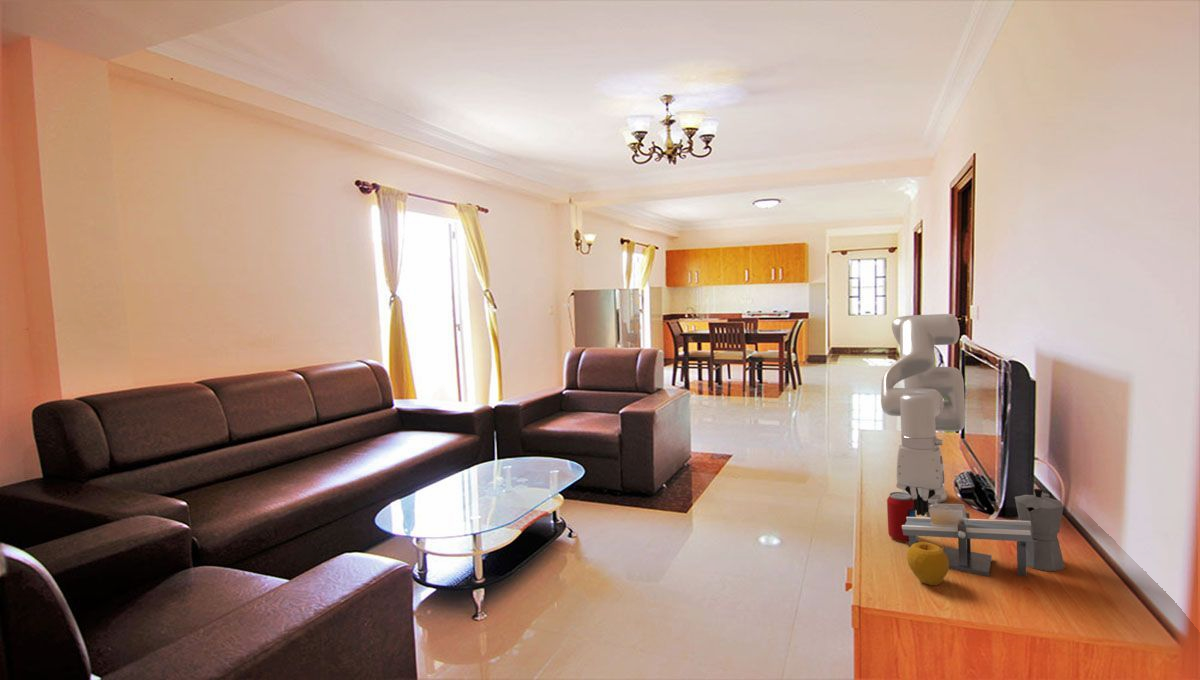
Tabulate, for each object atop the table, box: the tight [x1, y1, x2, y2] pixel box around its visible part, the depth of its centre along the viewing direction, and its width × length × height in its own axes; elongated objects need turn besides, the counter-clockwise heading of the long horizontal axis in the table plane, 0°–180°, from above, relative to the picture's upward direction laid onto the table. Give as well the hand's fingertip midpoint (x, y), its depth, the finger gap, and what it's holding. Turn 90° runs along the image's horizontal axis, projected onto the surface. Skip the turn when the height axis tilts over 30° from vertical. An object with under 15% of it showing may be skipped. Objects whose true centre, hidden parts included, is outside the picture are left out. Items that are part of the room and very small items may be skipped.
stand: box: [908, 512, 1027, 578], centre depth 133 cm, size 11×24×11 cm, turn 51°
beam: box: [902, 516, 1033, 542], centre depth 133 cm, size 7×26×2 cm, turn 51°
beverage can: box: [886, 491, 917, 543], centre depth 149 cm, size 7×7×12 cm
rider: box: [929, 503, 968, 528], centre depth 135 cm, size 4×7×5 cm, turn 51°
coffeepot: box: [1014, 488, 1066, 572], centre depth 131 cm, size 15×9×18 cm, turn 127°
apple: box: [906, 541, 950, 586], centre depth 126 cm, size 8×8×9 cm
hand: (921, 513), depth 138 cm, fingers closed
